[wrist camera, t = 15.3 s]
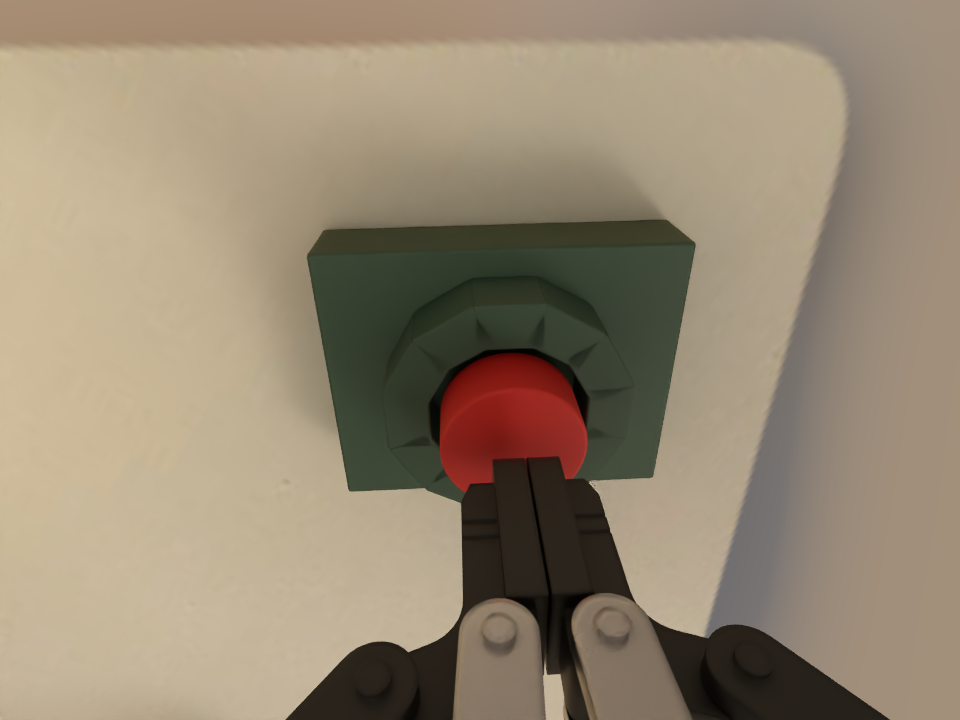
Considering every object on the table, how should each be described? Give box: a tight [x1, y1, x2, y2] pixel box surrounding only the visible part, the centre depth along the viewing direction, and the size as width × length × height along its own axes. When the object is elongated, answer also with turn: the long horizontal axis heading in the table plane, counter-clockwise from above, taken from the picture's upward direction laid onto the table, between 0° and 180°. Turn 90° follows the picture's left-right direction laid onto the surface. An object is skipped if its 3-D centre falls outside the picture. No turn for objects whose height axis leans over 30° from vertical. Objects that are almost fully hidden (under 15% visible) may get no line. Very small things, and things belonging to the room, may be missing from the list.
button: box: [440, 353, 588, 493], centre depth 14 cm, size 4×4×2 cm
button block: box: [307, 220, 695, 503], centre depth 16 cm, size 10×8×4 cm
